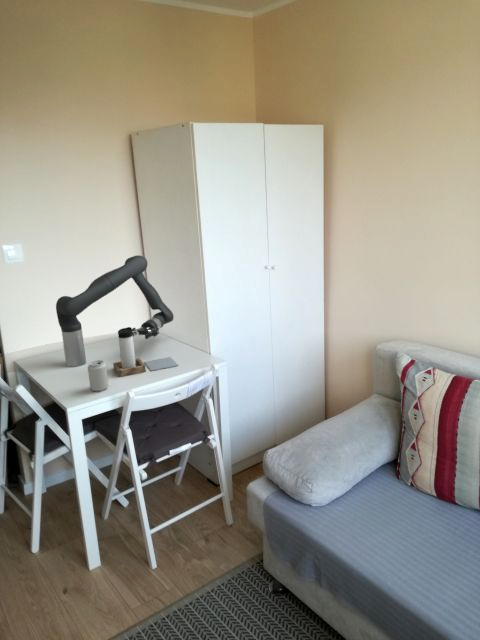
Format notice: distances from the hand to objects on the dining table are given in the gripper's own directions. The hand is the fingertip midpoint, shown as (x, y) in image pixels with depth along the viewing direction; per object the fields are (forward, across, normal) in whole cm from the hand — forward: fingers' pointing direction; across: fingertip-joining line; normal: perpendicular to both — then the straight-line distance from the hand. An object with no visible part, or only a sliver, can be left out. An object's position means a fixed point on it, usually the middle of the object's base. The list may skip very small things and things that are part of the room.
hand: (137, 336), depth 243 cm
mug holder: (+12, 0, +12) cm, 17 cm away
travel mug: (+12, 0, +13) cm, 17 cm away
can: (+33, -4, +12) cm, 36 cm away
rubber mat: (+2, +12, +13) cm, 17 cm away
